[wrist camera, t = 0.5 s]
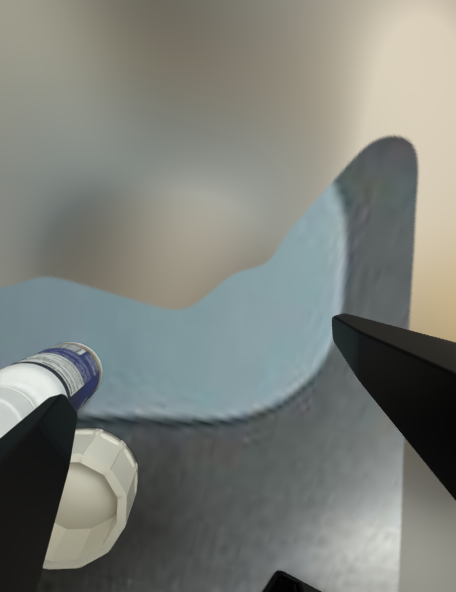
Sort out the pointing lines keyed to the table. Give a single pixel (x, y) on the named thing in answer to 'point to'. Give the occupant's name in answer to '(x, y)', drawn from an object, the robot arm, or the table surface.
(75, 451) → the bowl
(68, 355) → the pill bottle
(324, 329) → the table surface
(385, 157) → the table surface
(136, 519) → the table surface
